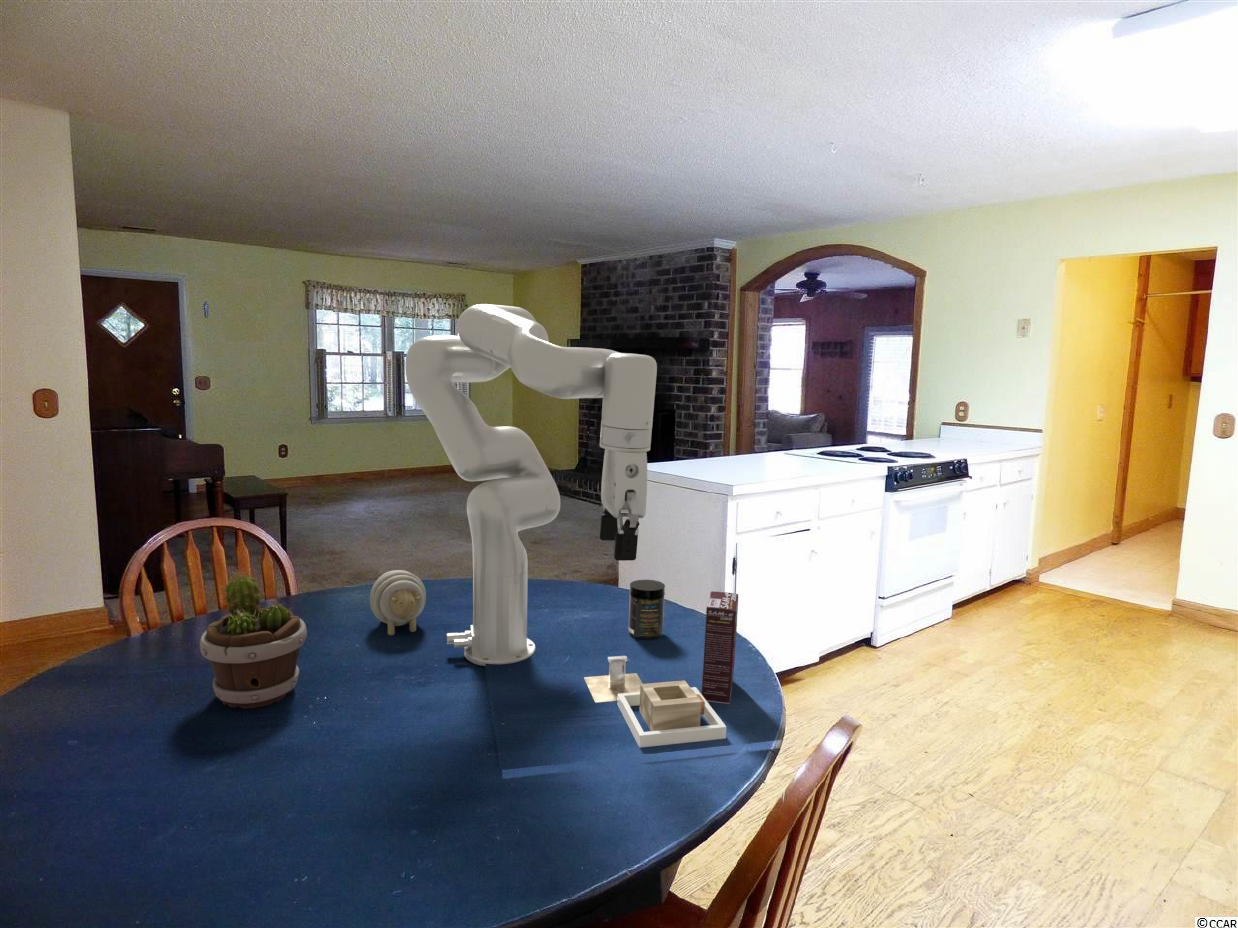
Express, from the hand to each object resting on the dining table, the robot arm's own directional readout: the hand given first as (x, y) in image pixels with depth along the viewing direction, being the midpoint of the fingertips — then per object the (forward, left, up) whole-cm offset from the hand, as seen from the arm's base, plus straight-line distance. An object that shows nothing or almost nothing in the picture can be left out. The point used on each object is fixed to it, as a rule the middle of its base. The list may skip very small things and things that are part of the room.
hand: (616, 549), depth 111 cm
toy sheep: (-34, +38, -25) cm, 57 cm away
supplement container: (+12, +24, -25) cm, 37 cm away
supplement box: (+17, -1, -25) cm, 30 cm away
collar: (+6, -9, -24) cm, 26 cm away
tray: (+6, -9, -24) cm, 27 cm away
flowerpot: (-54, +12, -25) cm, 60 cm away
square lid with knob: (+1, +3, -24) cm, 25 cm away
